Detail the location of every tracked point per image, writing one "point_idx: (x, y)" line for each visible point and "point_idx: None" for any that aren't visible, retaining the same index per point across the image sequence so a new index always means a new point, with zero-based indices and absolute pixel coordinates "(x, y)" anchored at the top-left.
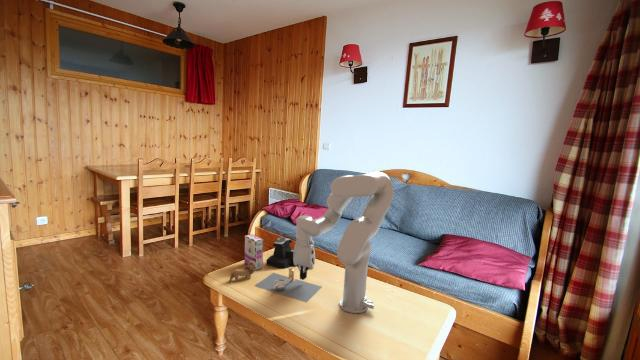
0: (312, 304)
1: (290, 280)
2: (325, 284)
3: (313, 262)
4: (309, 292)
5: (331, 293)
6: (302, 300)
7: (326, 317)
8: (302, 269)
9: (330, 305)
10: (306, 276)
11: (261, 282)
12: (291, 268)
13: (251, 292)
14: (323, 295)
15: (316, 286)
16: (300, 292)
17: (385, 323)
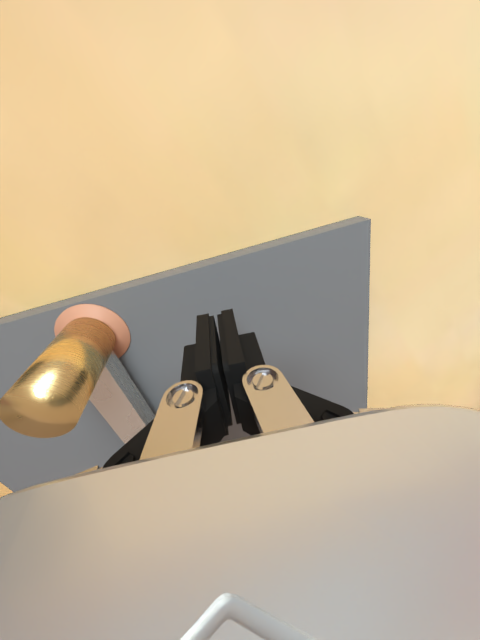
0: (382, 384)
1: (122, 372)
2: (345, 110)
3: (476, 435)
4: (329, 351)
5: (445, 216)
6: None
7: (472, 399)
8: (220, 426)
9: (470, 329)
10: (255, 336)
11: (16, 480)
12: (2, 400)
13: None
14: (401, 281)
15: (326, 256)
16: None
17: None
